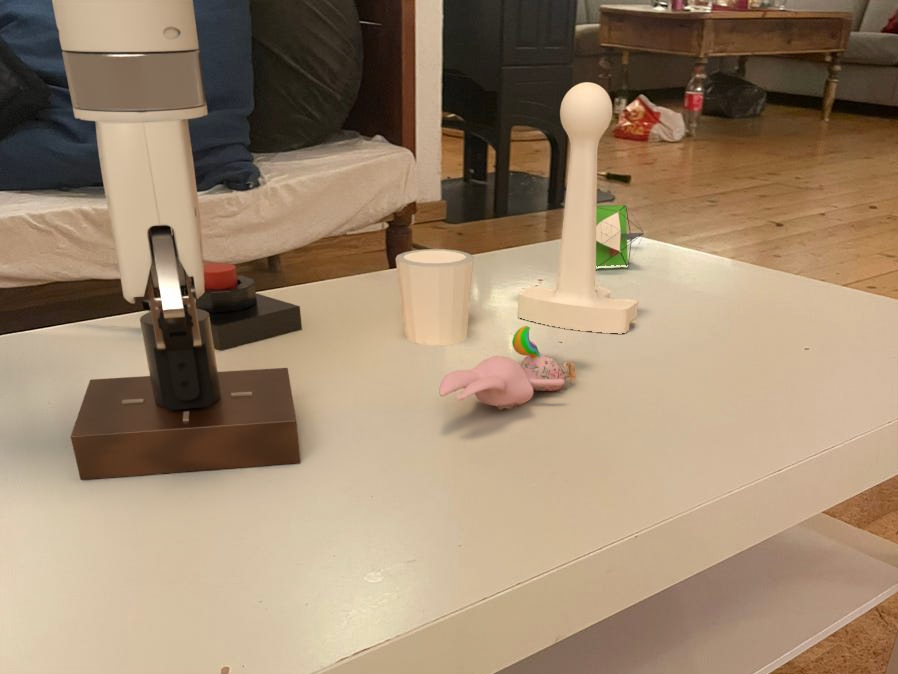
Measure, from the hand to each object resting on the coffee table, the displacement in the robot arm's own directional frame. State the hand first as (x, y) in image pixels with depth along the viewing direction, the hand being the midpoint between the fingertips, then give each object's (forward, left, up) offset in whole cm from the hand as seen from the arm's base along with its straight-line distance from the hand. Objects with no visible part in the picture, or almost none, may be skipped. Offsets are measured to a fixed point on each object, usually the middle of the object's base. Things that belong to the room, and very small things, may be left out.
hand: (187, 391), depth 67 cm
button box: (-10, +26, -4) cm, 28 cm away
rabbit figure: (+20, +12, -4) cm, 24 cm away
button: (-10, +26, 0) cm, 28 cm away
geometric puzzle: (+22, +59, -4) cm, 63 cm away
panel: (0, 0, -4) cm, 4 cm away
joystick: (+22, +37, -4) cm, 43 cm away
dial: (0, 0, 0) cm, 0 cm away
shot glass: (+10, +28, -4) cm, 30 cm away
